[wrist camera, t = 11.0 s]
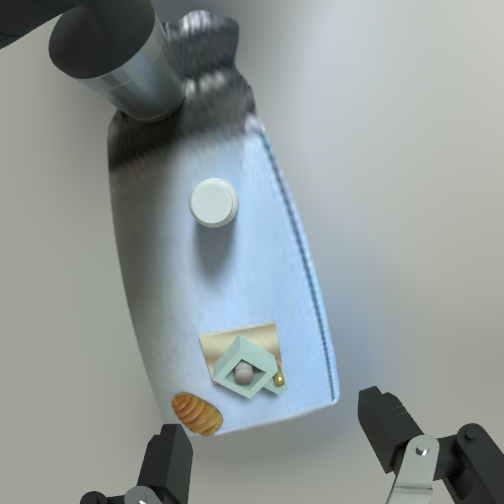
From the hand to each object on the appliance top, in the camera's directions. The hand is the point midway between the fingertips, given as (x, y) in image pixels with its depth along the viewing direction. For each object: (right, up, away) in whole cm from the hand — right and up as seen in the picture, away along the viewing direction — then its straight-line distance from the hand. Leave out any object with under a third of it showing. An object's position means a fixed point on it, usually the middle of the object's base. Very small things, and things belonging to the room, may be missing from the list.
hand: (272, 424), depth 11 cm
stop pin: (+3, -10, +30) cm, 32 cm away
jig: (-2, -8, +30) cm, 31 cm away
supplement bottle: (-5, +14, +26) cm, 30 cm away
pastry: (-10, -20, +33) cm, 40 cm away
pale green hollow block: (0, -10, +29) cm, 31 cm away
